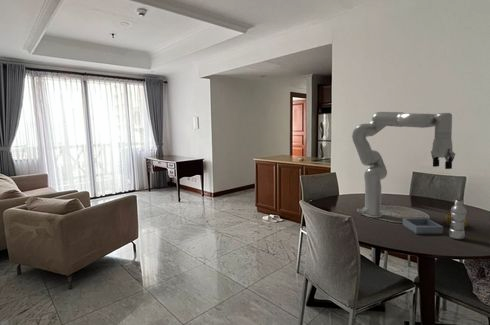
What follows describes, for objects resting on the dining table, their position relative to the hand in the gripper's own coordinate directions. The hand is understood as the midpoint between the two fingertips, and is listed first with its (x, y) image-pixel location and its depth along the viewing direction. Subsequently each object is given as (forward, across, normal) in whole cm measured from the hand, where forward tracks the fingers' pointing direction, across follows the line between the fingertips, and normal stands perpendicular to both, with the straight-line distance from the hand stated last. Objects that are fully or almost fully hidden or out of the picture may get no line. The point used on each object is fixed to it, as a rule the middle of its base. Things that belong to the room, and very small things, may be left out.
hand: (442, 167), depth 155 cm
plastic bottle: (+35, +13, -1) cm, 37 cm away
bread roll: (+35, -5, +12) cm, 37 cm away
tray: (+34, 0, -10) cm, 36 cm away
